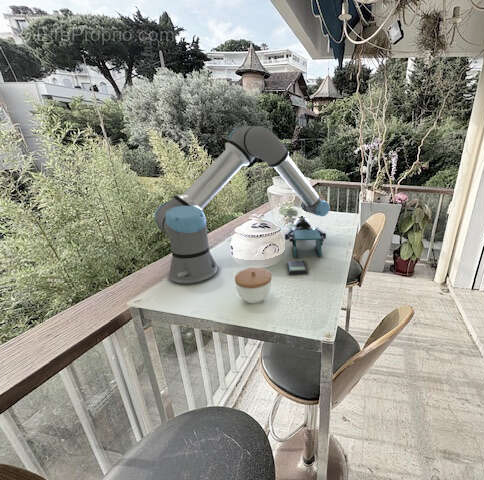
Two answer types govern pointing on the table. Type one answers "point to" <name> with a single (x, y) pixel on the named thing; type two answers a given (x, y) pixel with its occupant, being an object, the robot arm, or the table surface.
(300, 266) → the calculator
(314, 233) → the cover
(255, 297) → the trinket box
